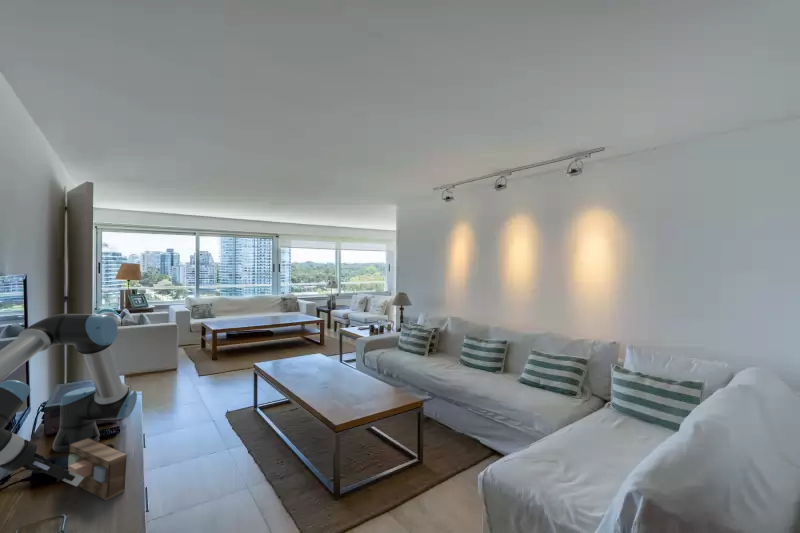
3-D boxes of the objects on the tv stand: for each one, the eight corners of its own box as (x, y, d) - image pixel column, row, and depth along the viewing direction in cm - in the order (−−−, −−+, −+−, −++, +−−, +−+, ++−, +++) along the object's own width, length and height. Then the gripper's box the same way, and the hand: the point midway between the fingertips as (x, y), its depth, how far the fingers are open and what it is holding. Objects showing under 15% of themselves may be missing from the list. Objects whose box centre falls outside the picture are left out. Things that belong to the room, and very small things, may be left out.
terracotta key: (67, 477, 122) (68, 465, 122) (85, 470, 127) (86, 458, 127) (75, 481, 120) (75, 469, 120) (92, 473, 125) (93, 462, 125)
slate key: (93, 478, 122) (94, 466, 122) (110, 471, 127) (110, 460, 127) (101, 482, 120) (101, 470, 120) (117, 475, 125) (118, 463, 125)
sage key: (68, 466, 129) (68, 455, 129) (84, 459, 133) (85, 449, 133) (74, 469, 127) (75, 458, 127) (91, 462, 131) (92, 452, 132)
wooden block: (67, 480, 130) (69, 444, 130) (85, 472, 135) (88, 438, 135) (106, 500, 121) (108, 461, 121) (124, 491, 126) (126, 454, 126)
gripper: (-14, 460, 101) (57, 488, 116) (8, 472, 96) (80, 500, 111) (13, 433, 106) (78, 464, 121) (36, 444, 101) (101, 474, 116)
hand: (79, 481), depth 116 cm, fingers closed
